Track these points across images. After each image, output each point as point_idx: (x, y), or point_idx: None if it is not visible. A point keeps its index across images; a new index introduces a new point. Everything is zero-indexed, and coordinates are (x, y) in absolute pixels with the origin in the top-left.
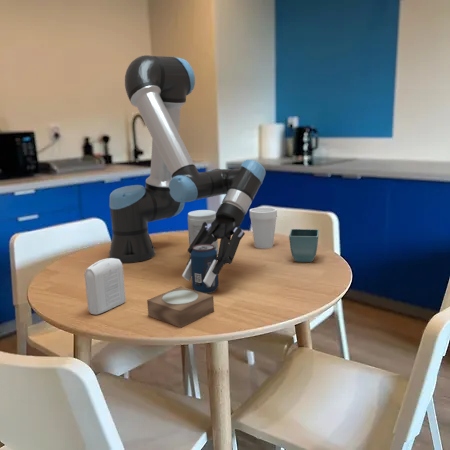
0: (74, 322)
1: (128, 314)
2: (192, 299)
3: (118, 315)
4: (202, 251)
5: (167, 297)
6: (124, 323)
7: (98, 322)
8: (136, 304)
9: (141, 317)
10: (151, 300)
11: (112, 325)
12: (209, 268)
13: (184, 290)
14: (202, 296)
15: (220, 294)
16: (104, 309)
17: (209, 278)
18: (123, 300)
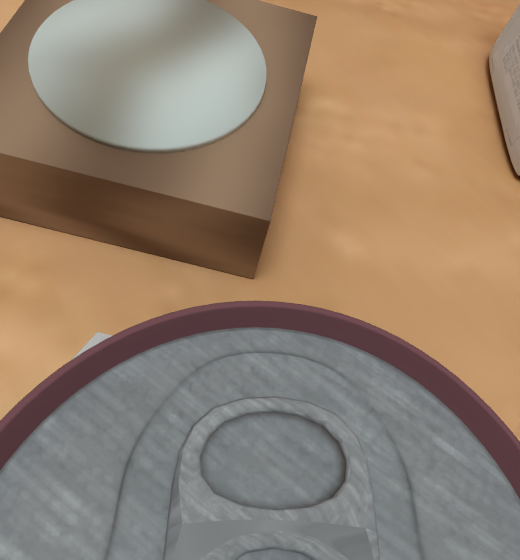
0: (502, 7)
1: (389, 87)
2: (49, 40)
3: (418, 73)
4: (152, 341)
5: (223, 38)
6: (337, 27)
7: (431, 19)
8: (449, 176)
9: (315, 77)
10: (292, 16)
11: (364, 10)
12: None
13: (183, 142)
14: (7, 106)
15: None
16: (494, 61)
17: None
18: (517, 152)
